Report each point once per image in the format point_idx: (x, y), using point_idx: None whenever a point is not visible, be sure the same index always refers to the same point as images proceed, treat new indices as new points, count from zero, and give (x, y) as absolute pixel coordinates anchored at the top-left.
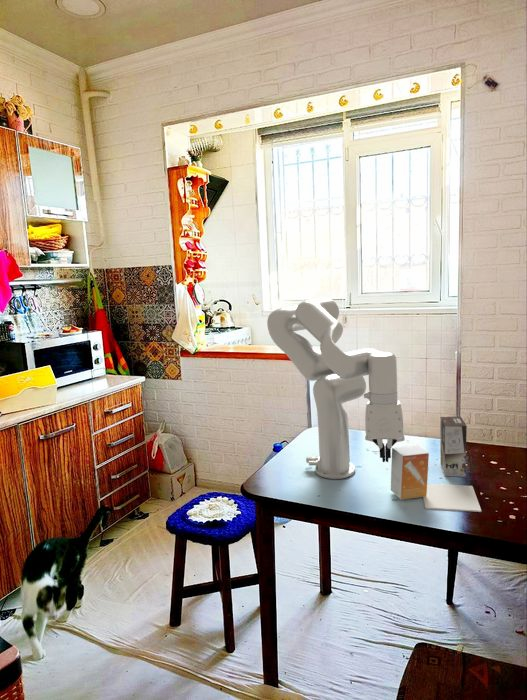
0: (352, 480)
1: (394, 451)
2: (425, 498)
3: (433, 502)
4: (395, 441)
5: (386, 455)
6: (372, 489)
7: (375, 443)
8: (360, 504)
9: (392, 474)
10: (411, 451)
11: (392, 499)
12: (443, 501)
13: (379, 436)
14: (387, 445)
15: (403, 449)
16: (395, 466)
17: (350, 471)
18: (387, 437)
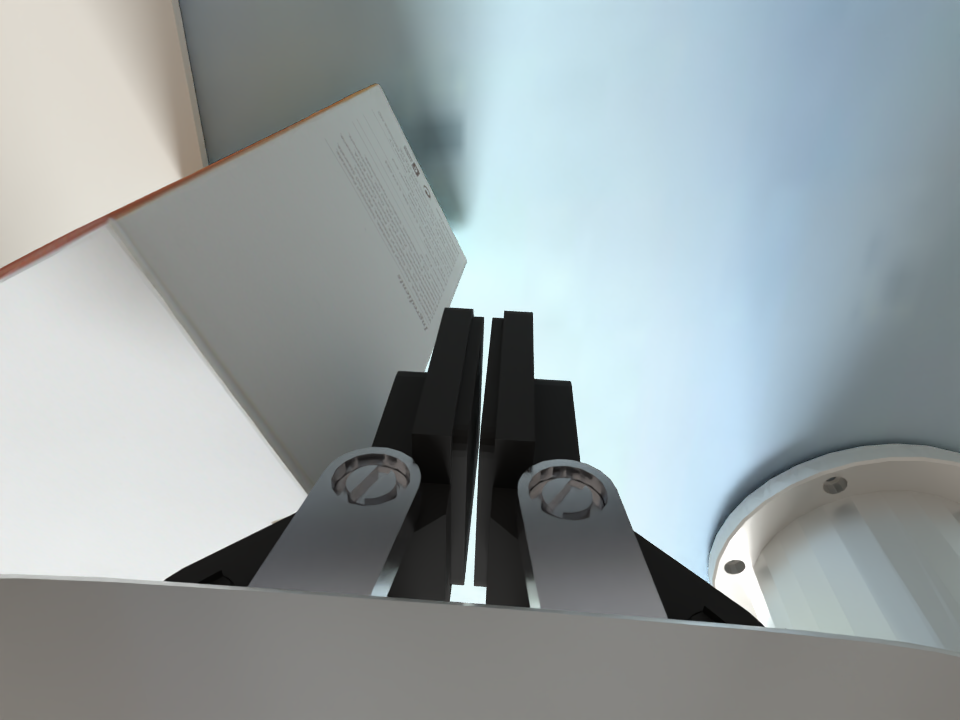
0: (751, 432)
1: (320, 463)
2: (187, 155)
3: (114, 86)
4: (183, 579)
5: (459, 359)
6: (611, 303)
7: (686, 572)
8: (760, 13)
9: (426, 302)
10: (22, 431)
11: (457, 140)
12: (42, 112)
13: (647, 701)
14: (405, 497)
15: (163, 493)
16: (362, 300)
17: (759, 524)
18: (310, 636)
